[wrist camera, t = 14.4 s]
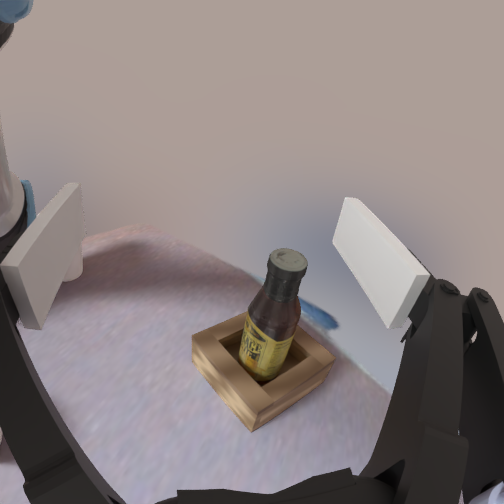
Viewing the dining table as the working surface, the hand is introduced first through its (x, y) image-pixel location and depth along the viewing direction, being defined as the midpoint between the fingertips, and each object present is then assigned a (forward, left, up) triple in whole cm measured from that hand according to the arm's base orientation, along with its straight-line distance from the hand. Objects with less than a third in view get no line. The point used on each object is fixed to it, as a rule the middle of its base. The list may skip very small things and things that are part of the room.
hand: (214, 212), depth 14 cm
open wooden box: (-6, +14, -31) cm, 35 cm away
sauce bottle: (-6, +14, -30) cm, 34 cm away
